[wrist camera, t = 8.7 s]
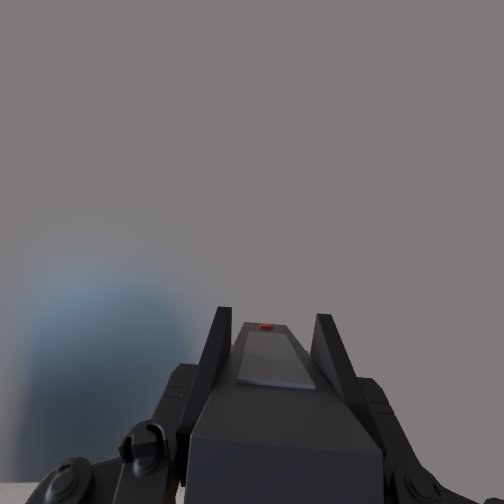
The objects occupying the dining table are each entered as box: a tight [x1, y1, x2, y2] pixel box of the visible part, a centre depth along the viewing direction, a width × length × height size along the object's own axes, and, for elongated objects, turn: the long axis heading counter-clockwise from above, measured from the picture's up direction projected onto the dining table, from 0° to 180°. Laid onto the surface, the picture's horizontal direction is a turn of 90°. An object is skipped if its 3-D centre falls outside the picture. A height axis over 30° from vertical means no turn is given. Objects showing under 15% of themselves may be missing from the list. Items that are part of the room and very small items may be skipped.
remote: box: [184, 322, 384, 504], centre depth 16 cm, size 21×5×3 cm, turn 178°
